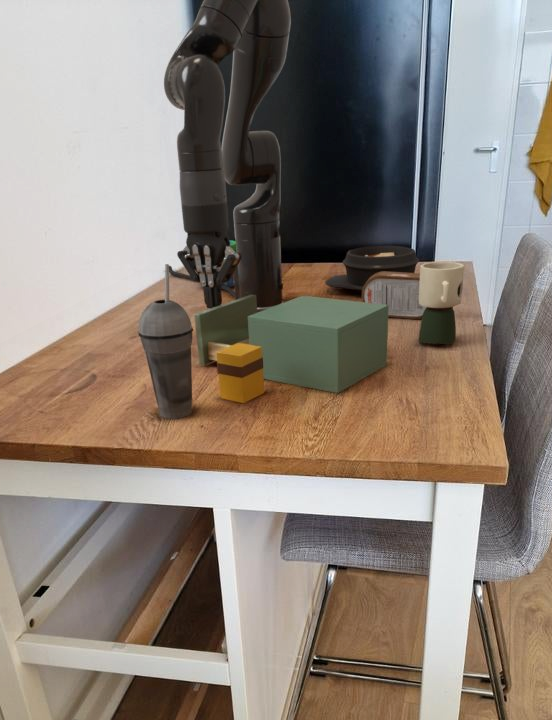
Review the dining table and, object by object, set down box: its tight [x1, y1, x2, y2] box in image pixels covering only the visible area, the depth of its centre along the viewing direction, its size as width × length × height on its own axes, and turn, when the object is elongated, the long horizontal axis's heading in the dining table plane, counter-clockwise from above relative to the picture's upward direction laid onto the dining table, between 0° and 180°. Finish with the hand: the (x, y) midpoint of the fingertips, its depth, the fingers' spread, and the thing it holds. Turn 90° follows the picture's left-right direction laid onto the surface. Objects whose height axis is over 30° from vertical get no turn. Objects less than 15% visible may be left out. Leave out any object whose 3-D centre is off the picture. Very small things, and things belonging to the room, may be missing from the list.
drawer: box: [194, 295, 258, 366], centre depth 117 cm, size 17×15×8 cm
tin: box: [361, 271, 427, 320], centre depth 137 cm, size 15×3×8 cm, turn 65°
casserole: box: [324, 245, 420, 294], centre depth 159 cm, size 25×19×8 cm
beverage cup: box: [137, 263, 194, 420], centre depth 95 cm, size 7×7×20 cm
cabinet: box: [248, 295, 389, 394], centre depth 110 cm, size 16×15×10 cm
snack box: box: [216, 343, 265, 404], centre depth 103 cm, size 5×4×7 cm
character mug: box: [418, 261, 465, 347], centre depth 119 cm, size 11×7×13 cm, turn 179°
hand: (213, 307), depth 124 cm, fingers closed
